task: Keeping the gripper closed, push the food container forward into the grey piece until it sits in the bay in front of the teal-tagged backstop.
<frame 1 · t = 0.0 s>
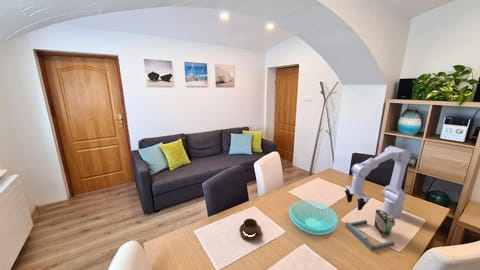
hand: (354, 205, 110), 10 cm above the table, tool pointing down, fingers open, 7 cm apart
grey piece: (369, 235, 101), on the table
cup and saucer: (250, 232, 104), on the table
food container: (384, 232, 104), on the table
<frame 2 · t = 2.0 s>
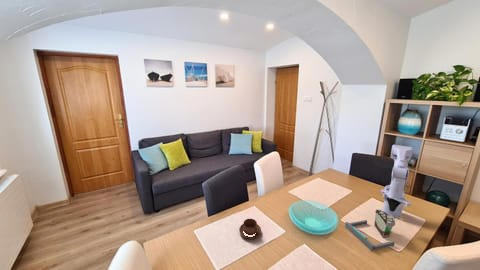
hand: (391, 210, 105), 10 cm above the table, tool pointing down, fingers closed
nothing on the table moved.
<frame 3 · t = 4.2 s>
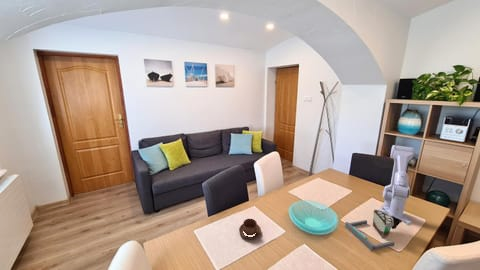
hand: (392, 227, 104), 2 cm above the table, tool pointing down, fingers closed
food container: (383, 232, 104), on the table, touching gripper
everything else where it was.
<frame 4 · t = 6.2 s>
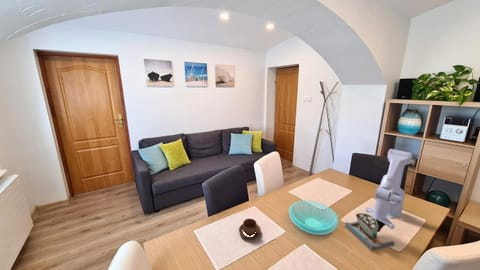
hand: (376, 230, 102), 2 cm above the table, tool pointing down, fingers closed
food container: (371, 234, 101), point 1 cm above the table
everything else where it was.
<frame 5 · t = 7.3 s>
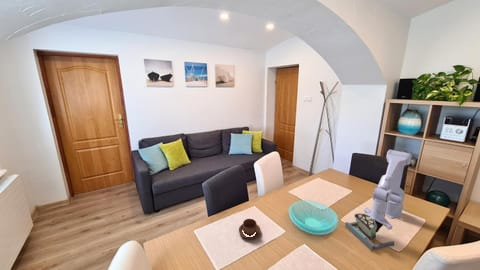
hand: (374, 231, 102), 2 cm above the table, tool pointing down, fingers closed
food container: (370, 234, 101), point 1 cm above the table, touching gripper
everything else where it was.
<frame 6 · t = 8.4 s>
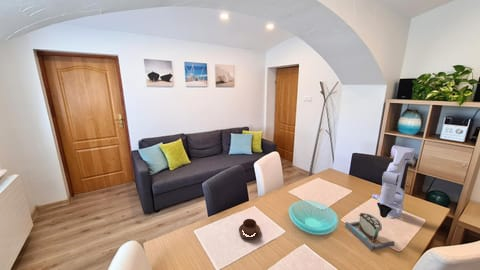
hand: (383, 216, 101), 10 cm above the table, tool pointing down, fingers closed
food container: (370, 235, 101), on the table
everything else where it was.
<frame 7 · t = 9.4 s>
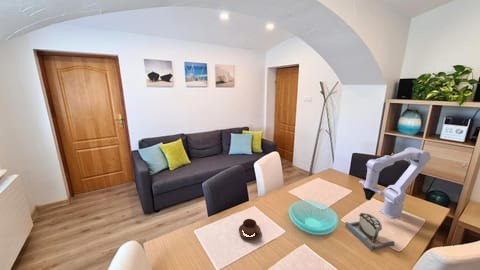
hand: (368, 199, 116), 10 cm above the table, tool pointing down, fingers closed
nothing on the table moved.
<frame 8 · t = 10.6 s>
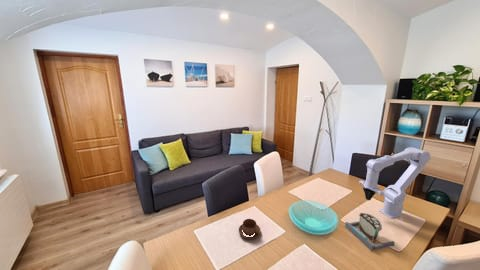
hand: (368, 199, 116), 10 cm above the table, tool pointing down, fingers closed
nothing on the table moved.
at the end: food container inside the target area on the grey piece (1.8 cm from its centre), point 0.0 cm above the grey piece's base; food container tilted 0°; food container moved 9.5 cm from its start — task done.
